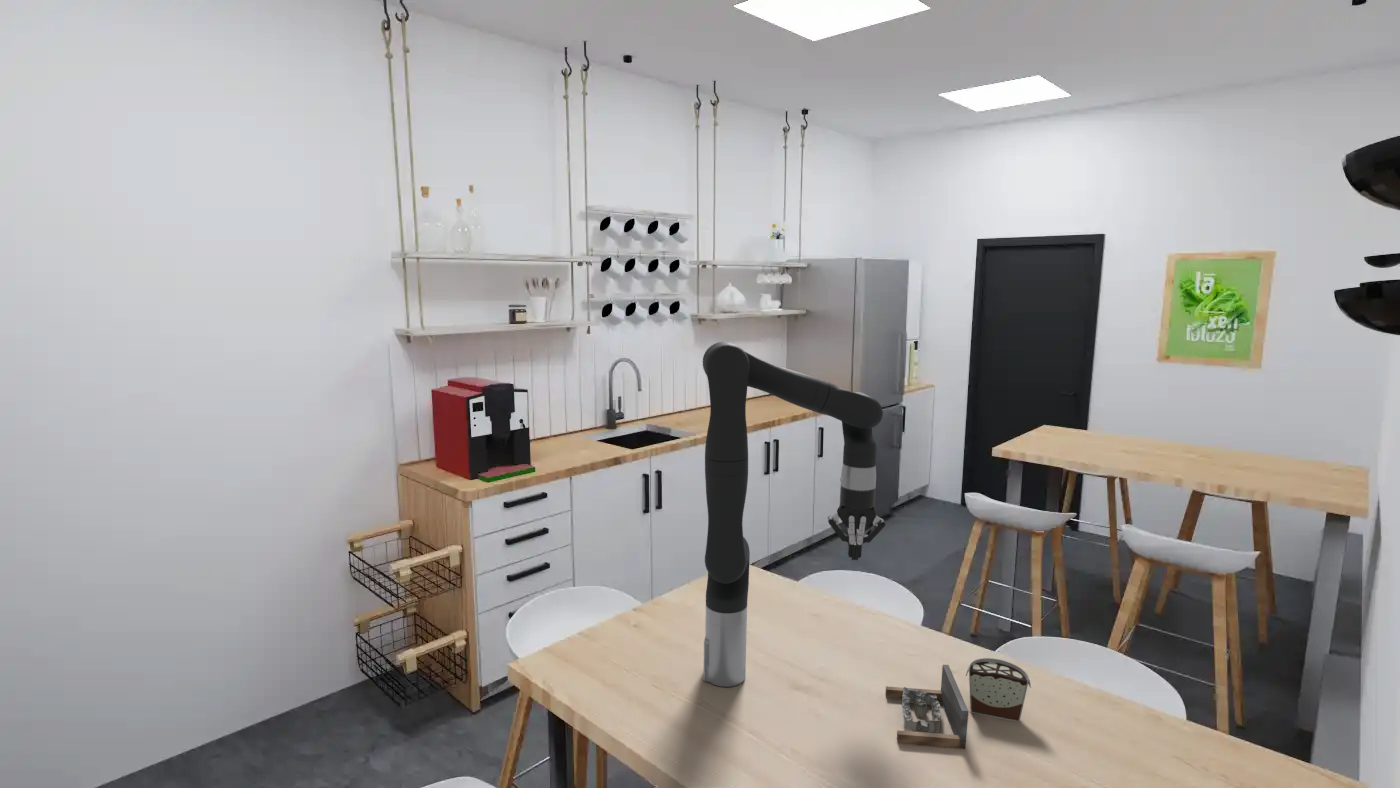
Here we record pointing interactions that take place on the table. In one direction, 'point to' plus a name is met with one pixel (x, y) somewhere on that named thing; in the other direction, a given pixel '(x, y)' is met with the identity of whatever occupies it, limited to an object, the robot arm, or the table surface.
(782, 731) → the table surface
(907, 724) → the egg carton
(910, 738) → the display stand
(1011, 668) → the food container
